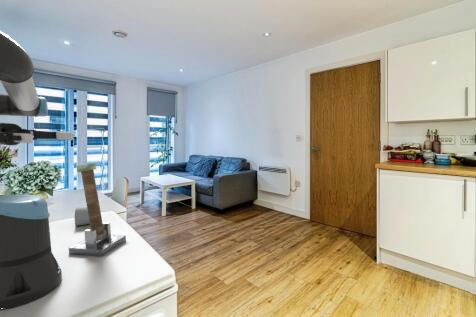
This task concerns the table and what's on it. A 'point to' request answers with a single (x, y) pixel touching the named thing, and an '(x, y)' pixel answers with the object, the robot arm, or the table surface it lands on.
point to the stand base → (97, 243)
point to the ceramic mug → (81, 216)
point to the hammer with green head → (92, 199)
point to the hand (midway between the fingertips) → (53, 137)
